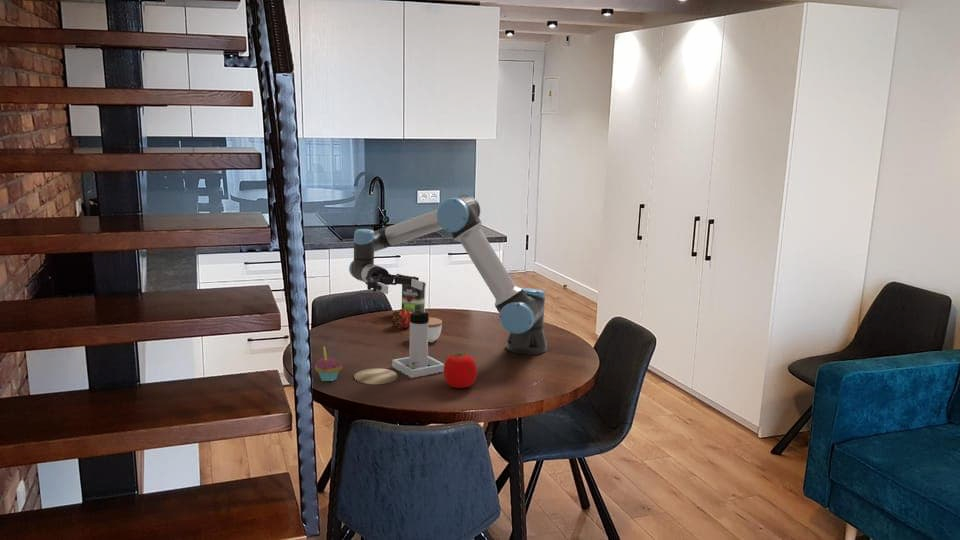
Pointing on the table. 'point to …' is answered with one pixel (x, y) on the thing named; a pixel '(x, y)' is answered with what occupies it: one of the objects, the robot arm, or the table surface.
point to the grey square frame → (433, 368)
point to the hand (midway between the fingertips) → (404, 288)
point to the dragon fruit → (401, 318)
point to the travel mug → (418, 340)
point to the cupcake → (328, 367)
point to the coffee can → (413, 299)
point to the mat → (375, 376)
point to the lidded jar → (434, 329)
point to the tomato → (460, 370)
